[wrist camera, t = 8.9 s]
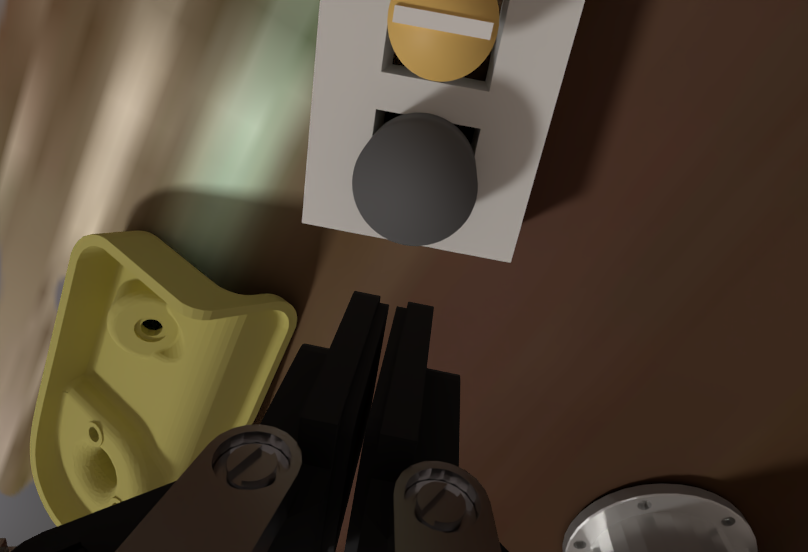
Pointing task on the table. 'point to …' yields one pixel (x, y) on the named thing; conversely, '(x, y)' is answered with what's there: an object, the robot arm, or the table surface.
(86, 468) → the plastic component
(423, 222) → the knob
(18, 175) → the table surface
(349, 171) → the mount
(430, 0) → the pot knob
